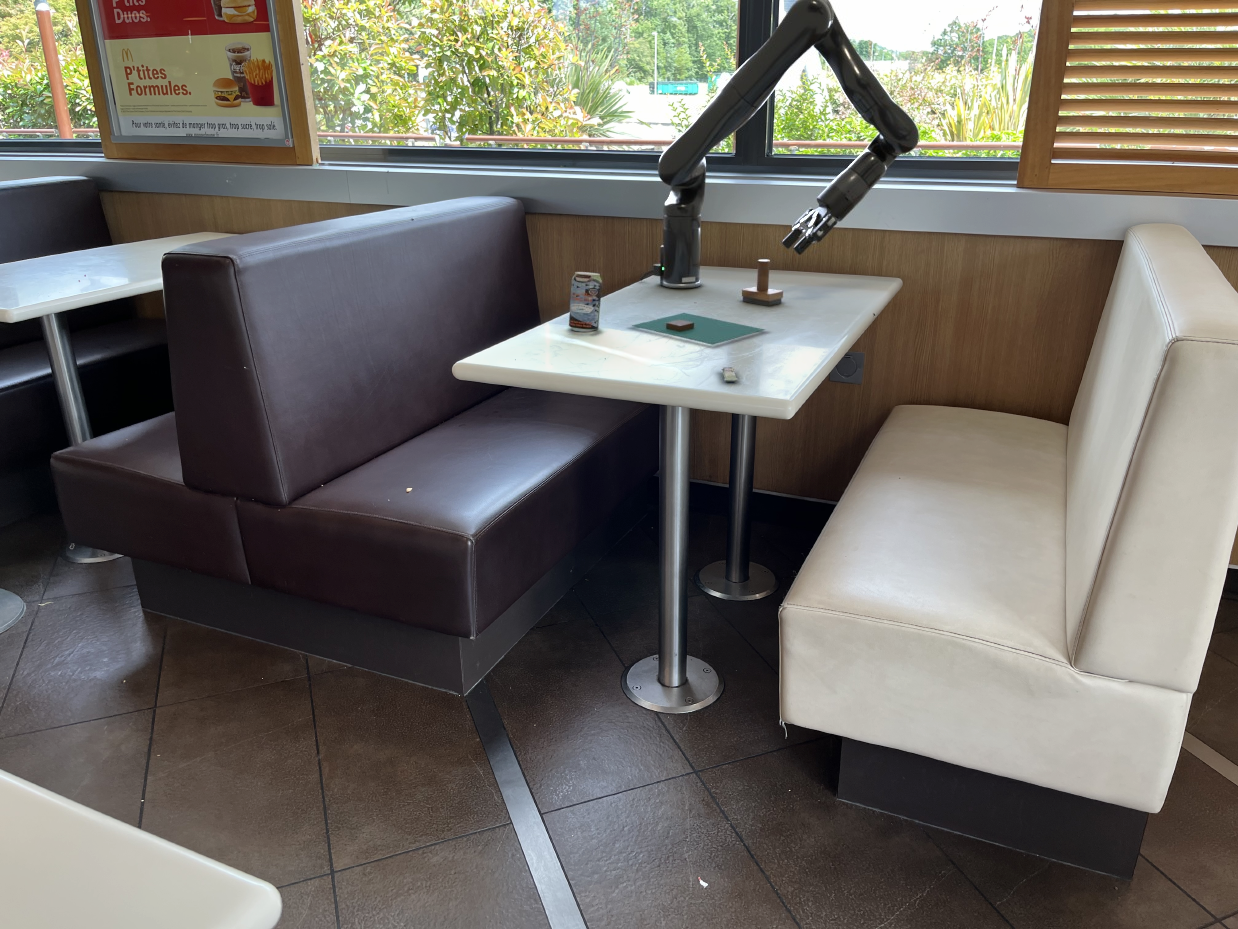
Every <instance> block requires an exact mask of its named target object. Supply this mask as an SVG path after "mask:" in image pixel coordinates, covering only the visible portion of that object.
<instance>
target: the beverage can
mask: <svg viewBox="0 0 1238 929" xmlns="http://www.w3.org/2000/svg"><path fill="white" fill-rule="evenodd" d="M602 286H603V280H602V278H601V276H600V273H597V272H596V273H595V272H588V271H586V272H585V271H575V272H574V275H573V276H572V278H571V287H570V301H569V314H568V327H569V328H571V330H572V331H574V332H582V333H590V332H594V331H595V330H598V329H599V327H600V326H599V325H600V316H601V315H600V313H601V299H602V288H603V287H602Z"/></svg>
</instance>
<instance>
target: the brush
mask: <svg viewBox="0 0 1238 929" xmlns="http://www.w3.org/2000/svg"><path fill="white" fill-rule="evenodd" d="M770 262H771V261H770V259H758V260H757V276H756V277H757V278H756V285H755V286H751V287H747V288H746V287H745V288H742V289H741V297H742V302H744V303H749V304H754V305H760V306H766V307H771V306H775V305H779V304H782V300H783V298H784V290H781V289H774V288H770V287H769V286H770V285H769V284H770V283H769V282H770Z"/></svg>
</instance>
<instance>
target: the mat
mask: <svg viewBox="0 0 1238 929" xmlns="http://www.w3.org/2000/svg"><path fill="white" fill-rule="evenodd" d="M676 320H684V321H689V322H694V328H693V329H689V330H685V331H682V332H679V331H675V330H671V329H666V323H668V322H672V321H676ZM631 327H635V328H639V329H644V330H648V331H653V332H656V333H660V334H665V335H668V336H673V337H678V338H682V339H687V340H690V341H695V342H699V343H704V344H707V345H708V344H709V345H716V344H720V343H724V342H727V341H732V340H735V339H738V338H741V337H746V336H748V335H752V334H756V333H759V332H762V331H765V330H766V329H764V328H761V327H755V326H750V325H745V324H742V323H741V324H740V323H735V322H731V321H727V320H721V319H717V318H712V317H706V316H701V315H697V314H696V315H695V314H692V313H688V312H682V313H678V314H673V315H670V316H665V317H661V318H657V319H653V320H648V321H645V322H640V323H637V324H633V325H631Z"/></svg>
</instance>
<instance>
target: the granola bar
mask: <svg viewBox="0 0 1238 929" xmlns="http://www.w3.org/2000/svg"><path fill="white" fill-rule="evenodd" d="M734 370H735V368H733V367H731V366H725V367H722V368H721V370H720V371H722V374H723V377H724V379H723V380H724V381H725V382H737V381H738V380H739V379H738V378H737V376H736V373H735V371H734Z"/></svg>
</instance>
